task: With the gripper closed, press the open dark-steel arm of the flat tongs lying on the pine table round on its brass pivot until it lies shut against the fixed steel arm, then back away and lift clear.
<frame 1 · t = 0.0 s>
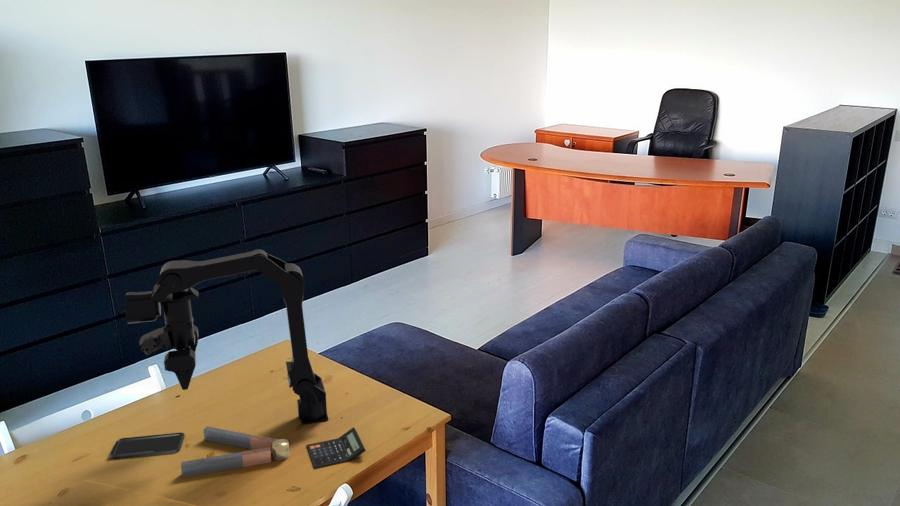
hand: (186, 380, 155), 15 cm above the table, fingers open, 9 cm apart
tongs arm: (244, 442, 153), point 2 cm above the table, hinge at -35.0°
phone: (148, 449, 154), on the table
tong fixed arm: (281, 456, 151), on the table
calculator: (336, 454, 153), on the table
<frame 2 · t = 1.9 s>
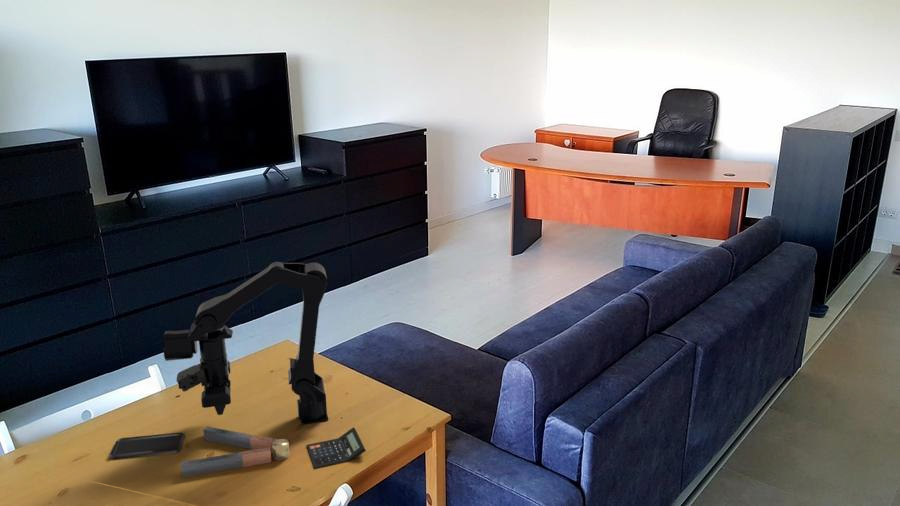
hand: (220, 414, 161), 4 cm above the table, fingers closed
nothing on the table moved.
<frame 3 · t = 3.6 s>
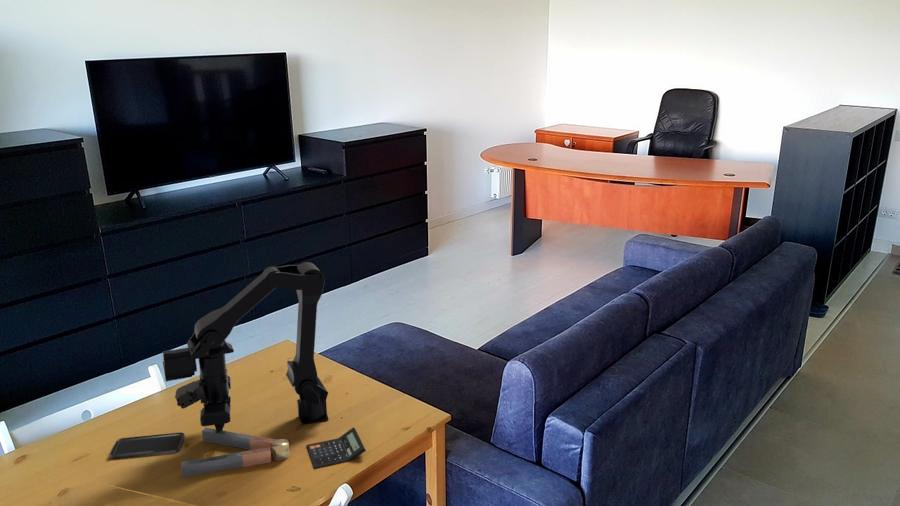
hand: (219, 431, 157), 2 cm above the table, fingers closed
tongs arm: (244, 443, 153), point 2 cm above the table, hinge at -33.4°, touching gripper
everything else where it was.
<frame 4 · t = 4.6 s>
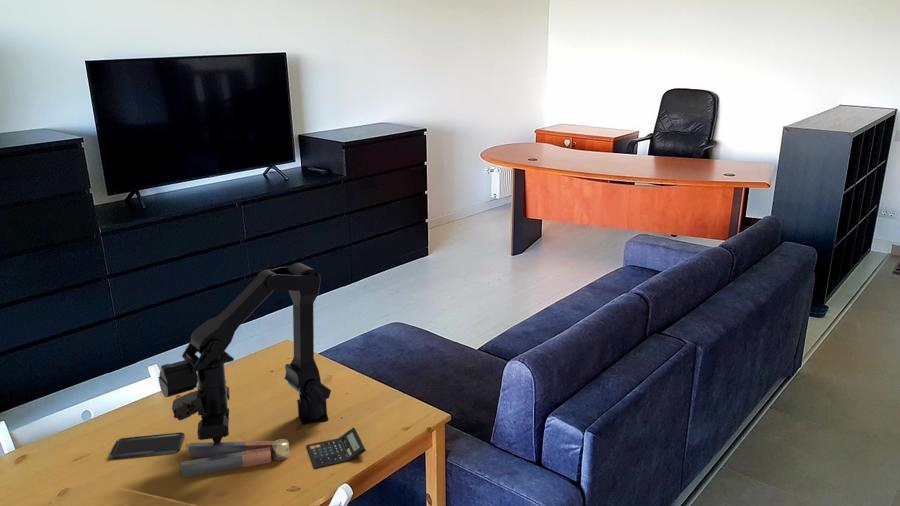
hand: (217, 443, 152), 2 cm above the table, fingers closed
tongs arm: (238, 450, 150), point 2 cm above the table, hinge at -15.3°, touching gripper
everything else where it was.
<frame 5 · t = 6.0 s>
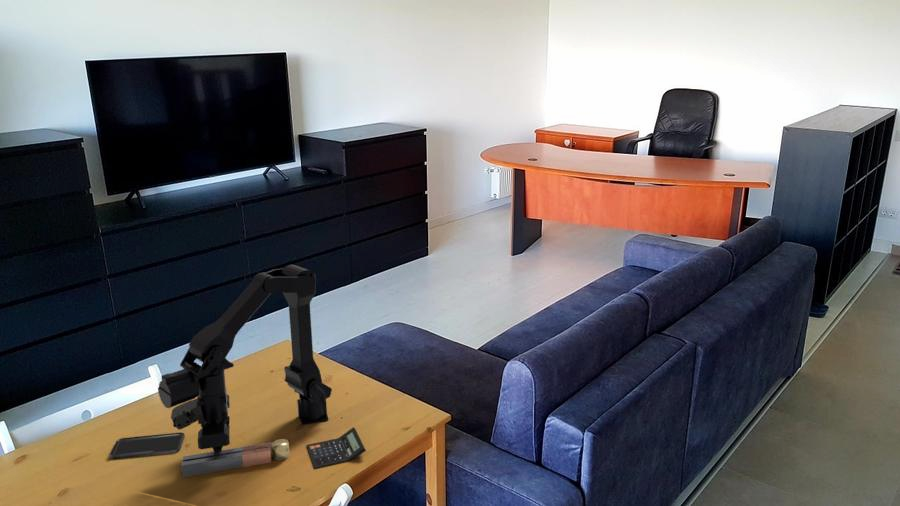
hand: (217, 453, 149), 2 cm above the table, fingers closed
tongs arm: (237, 456, 148), point 2 cm above the table, hinge at -0.8°, touching gripper
everything else where it was.
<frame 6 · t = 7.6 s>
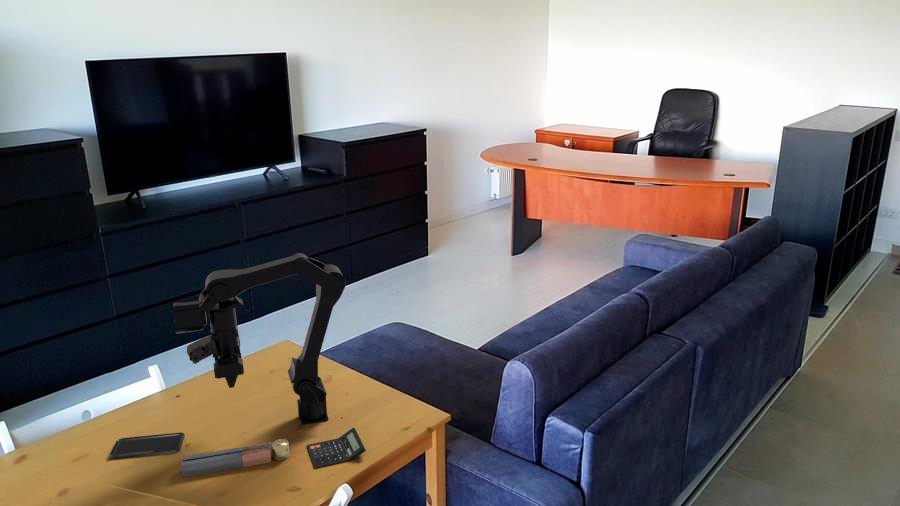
hand: (231, 387, 158), 12 cm above the table, fingers closed
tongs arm: (237, 456, 148), point 2 cm above the table, hinge at -0.7°
everything else where it was.
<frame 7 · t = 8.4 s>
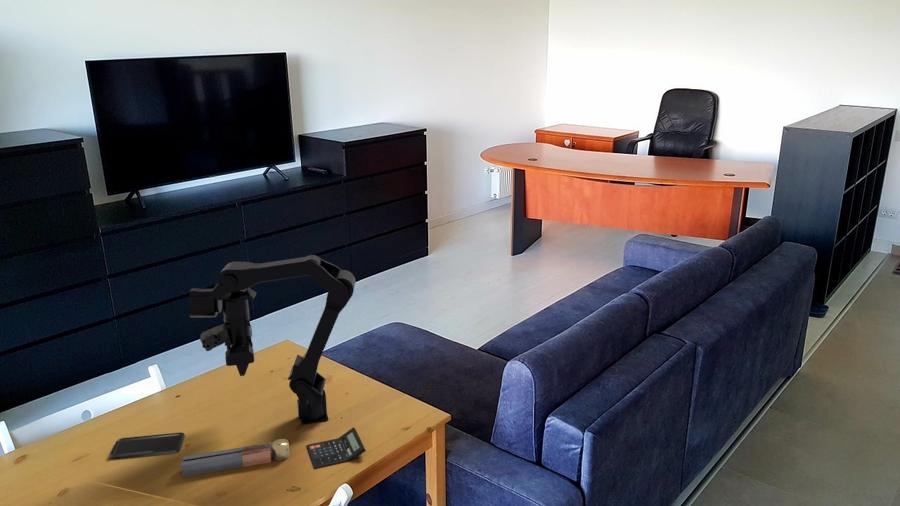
hand: (242, 375, 163), 12 cm above the table, fingers closed
nothing on the table moved.
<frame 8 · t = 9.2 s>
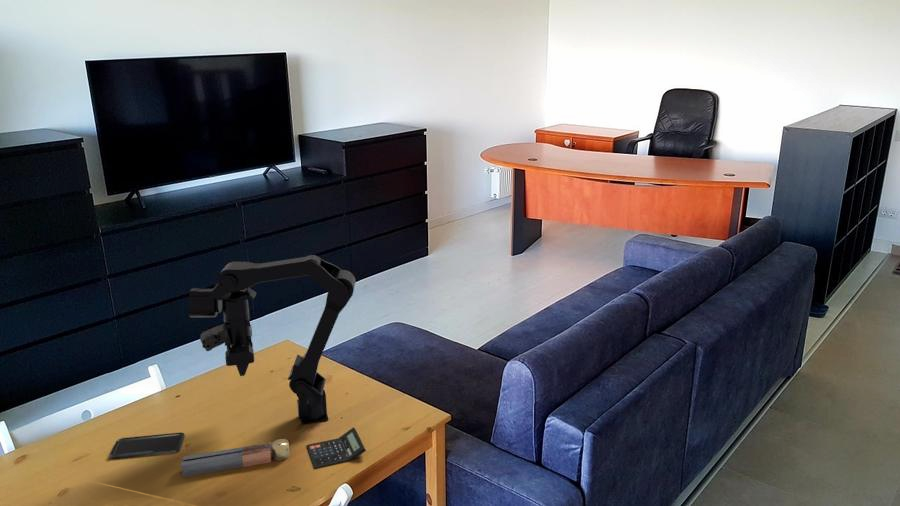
hand: (242, 375, 163), 12 cm above the table, fingers closed
nothing on the table moved.
at the end: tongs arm at -1° (first picture: -35°) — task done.
